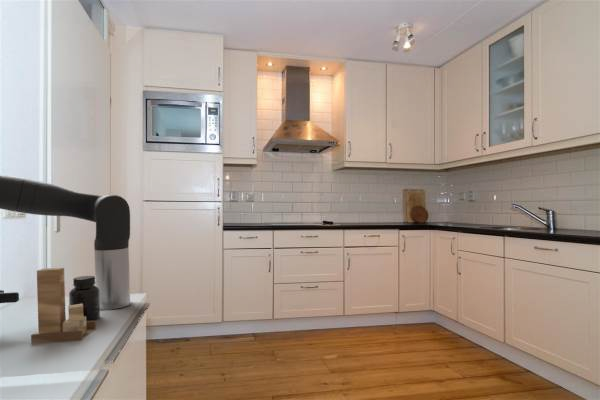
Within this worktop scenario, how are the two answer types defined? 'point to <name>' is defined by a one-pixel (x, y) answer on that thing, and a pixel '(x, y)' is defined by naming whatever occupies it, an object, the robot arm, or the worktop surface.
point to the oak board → (51, 300)
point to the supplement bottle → (86, 297)
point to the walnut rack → (63, 335)
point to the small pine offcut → (75, 312)
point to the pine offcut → (75, 326)
